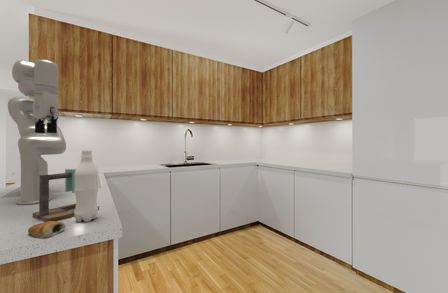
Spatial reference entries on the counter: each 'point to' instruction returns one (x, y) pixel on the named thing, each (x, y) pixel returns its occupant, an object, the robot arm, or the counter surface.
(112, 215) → the counter surface
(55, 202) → the counter surface
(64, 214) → the hook shelf
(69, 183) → the teal rectangular block
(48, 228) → the pastry
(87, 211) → the water bottle
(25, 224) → the counter surface
